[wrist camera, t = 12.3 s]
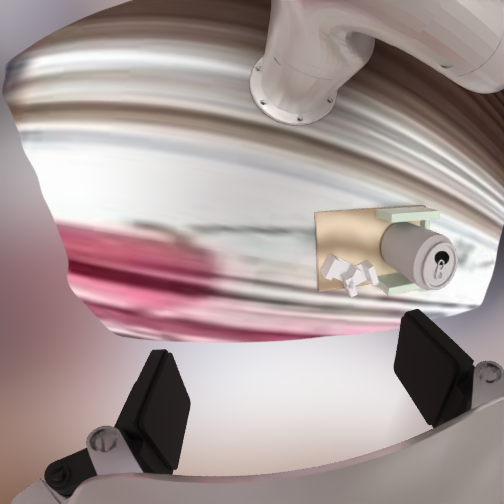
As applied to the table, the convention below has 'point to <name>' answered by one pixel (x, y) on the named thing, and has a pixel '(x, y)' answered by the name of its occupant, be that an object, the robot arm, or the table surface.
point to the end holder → (397, 281)
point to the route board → (352, 241)
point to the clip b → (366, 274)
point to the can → (420, 255)
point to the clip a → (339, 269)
